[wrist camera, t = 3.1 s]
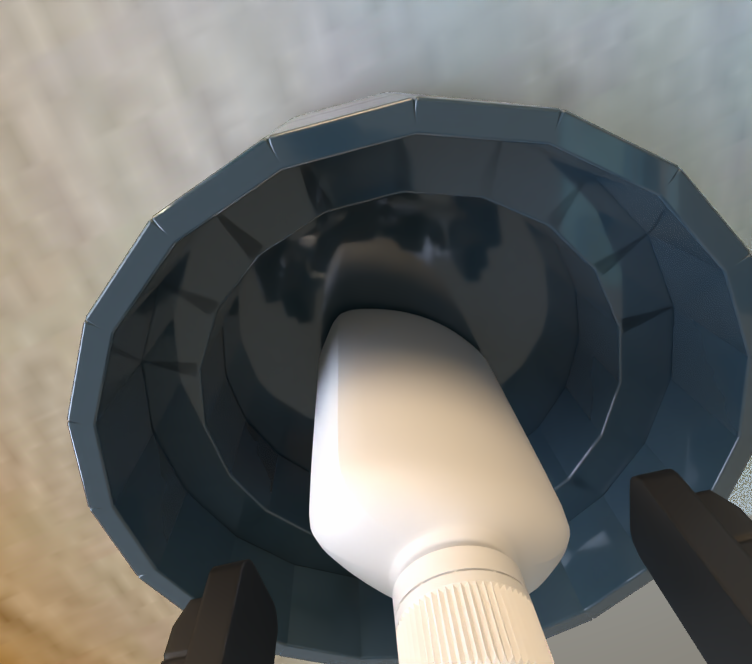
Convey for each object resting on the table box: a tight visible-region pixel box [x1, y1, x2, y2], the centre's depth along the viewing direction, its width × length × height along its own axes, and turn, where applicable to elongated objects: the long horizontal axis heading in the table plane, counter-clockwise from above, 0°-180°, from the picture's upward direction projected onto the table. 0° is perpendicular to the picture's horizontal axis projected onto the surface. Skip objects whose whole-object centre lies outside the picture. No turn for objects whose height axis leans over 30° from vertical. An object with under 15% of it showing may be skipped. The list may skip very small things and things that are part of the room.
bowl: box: [67, 92, 752, 664], centre depth 14 cm, size 16×16×6 cm
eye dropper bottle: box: [309, 309, 570, 664], centre depth 11 cm, size 4×6×12 cm
